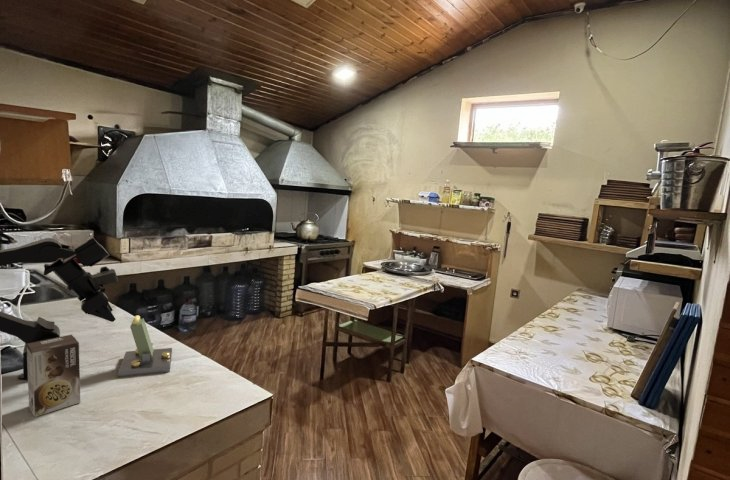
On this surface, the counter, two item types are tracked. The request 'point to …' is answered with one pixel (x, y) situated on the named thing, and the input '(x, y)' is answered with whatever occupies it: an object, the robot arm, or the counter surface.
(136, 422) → the counter surface
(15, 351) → the counter surface
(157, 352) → the base
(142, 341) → the green lever
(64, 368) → the coffee box
